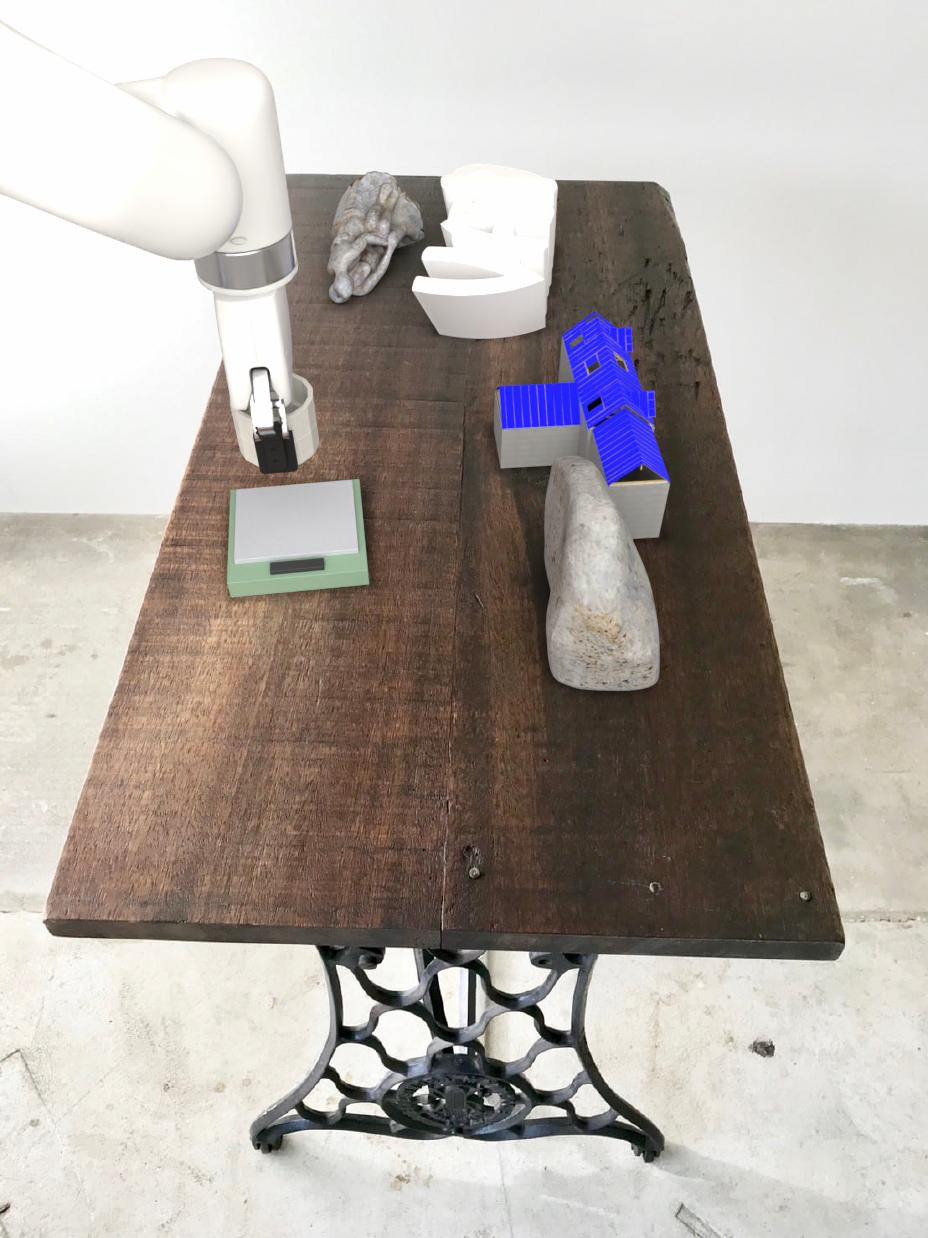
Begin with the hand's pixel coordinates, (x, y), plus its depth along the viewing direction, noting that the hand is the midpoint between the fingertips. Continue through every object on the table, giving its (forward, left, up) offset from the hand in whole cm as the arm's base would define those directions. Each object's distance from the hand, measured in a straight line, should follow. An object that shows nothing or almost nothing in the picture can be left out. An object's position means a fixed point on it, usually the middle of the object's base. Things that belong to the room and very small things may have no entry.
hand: (279, 440), depth 85 cm
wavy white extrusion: (+26, +46, -13) cm, 54 cm away
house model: (+29, +10, -13) cm, 33 cm away
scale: (0, +1, -13) cm, 13 cm away
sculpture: (+10, +50, -13) cm, 52 cm away
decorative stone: (+26, -13, -13) cm, 32 cm away
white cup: (0, 0, -1) cm, 1 cm away
